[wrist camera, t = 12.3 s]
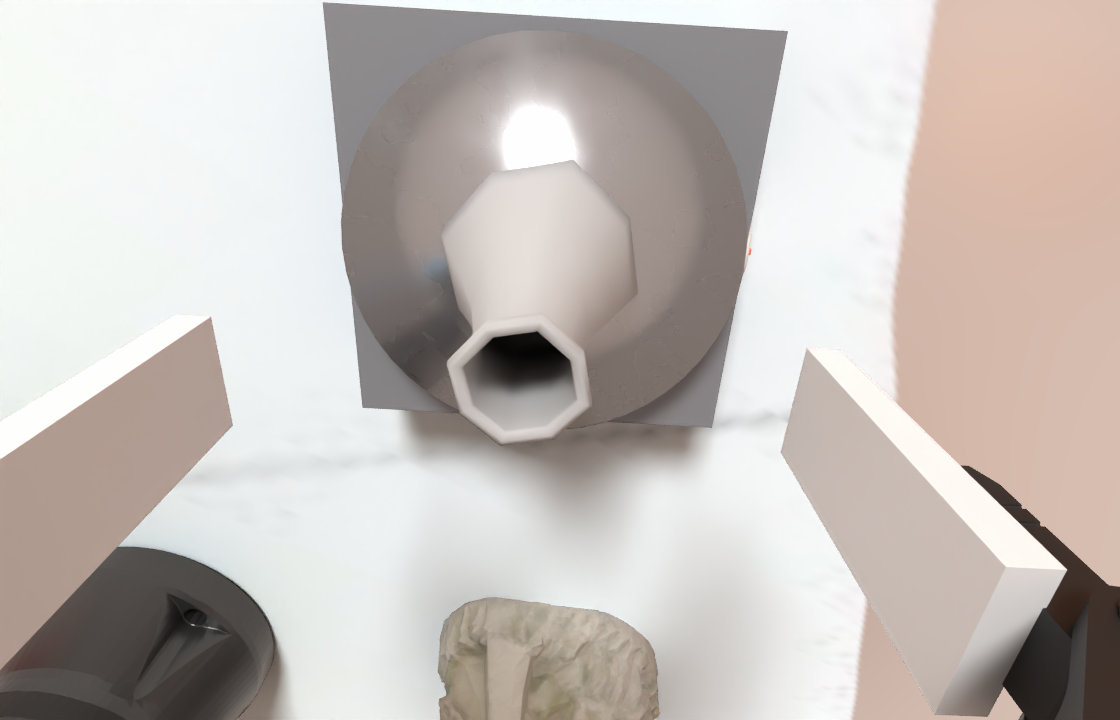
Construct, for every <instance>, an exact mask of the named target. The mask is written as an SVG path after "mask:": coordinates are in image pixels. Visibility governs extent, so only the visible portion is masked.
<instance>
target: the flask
mask: <svg viewBox="0 0 1120 720" xmlns="http://www.w3.org/2000/svg"><path fill="white" fill-rule="evenodd" d="M439 232H440V236H441V240H442V244H443V248H444V252H445V256H446V261H447V265H448V269H449V273H450V277H451V281H452V285H453V289H454V293H455V297H456V301H457V305H458V307H459V309H460V311H461V312H462V314H463V315H464V316H465V318H466V319H467V321H468V322H469V324H470V325H471V327H472V329H473V334H472V336H471V337H470V338H469V339H468V340H467V341H466V342H465V343H464V344H463V345H462V346H461V347H460V348H459V349H458V350H457V351H456V352H455V353H454V354H453V355H452V356H451V357H450V358H449V359H448V362H447V367H448V371H449V375H450V379H451V382H452V386H453V390H454V394H455V397H456V401H457V405H458V409H459V412H460V414H461V415H463V416H464V417H465V418H466V419H468V420H469V421H470V422H471V423H473V424H474V425H475V426H476V427H478V428H479V429H480V430H481V431H483V432H484V433H485V434H486V435H488V436H489V437H490V438H491V439H493V440H494V441H495V442H496V443H498V444H499V445H500V446H503V445H511V444H519V443H527V442H535V441H543V440H551V439H554V438H555V437H557V436H558V435H559V434H560V433H561V432H562V431H563V430H565V429H566V428H567V427H568V426H569V425H570V424H571V423H573V422H574V421H575V420H576V419H577V418H578V417H580V416H581V415H582V414H583V413H584V412H585V411H586V410H588V409H589V408H590V407H591V406H592V398H591V391H590V385H589V379H588V372H587V366H586V359H585V353H584V350H585V348H586V346H587V343H588V341H589V339H590V338H591V337H592V336H593V335H594V334H595V333H596V332H597V331H598V330H599V329H601V328H602V327H603V326H604V325H605V324H606V323H607V322H608V321H609V320H610V319H611V318H612V317H614V316H615V315H616V314H617V313H618V312H619V311H620V310H621V309H622V308H623V307H624V306H626V305H627V304H628V303H629V302H630V301H631V300H632V299H633V298H634V297H635V296H636V295H637V294H638V286H637V277H636V268H635V258H634V249H633V240H632V231H631V222H630V217H629V216H628V215H627V214H626V213H625V212H624V211H623V210H622V209H621V208H620V207H619V206H618V205H617V204H616V203H615V202H614V201H613V200H612V199H611V198H610V197H609V196H608V195H607V194H606V193H605V192H604V191H603V190H602V189H601V188H600V187H599V186H598V184H597V183H596V182H595V181H594V180H593V179H592V178H591V177H590V176H589V175H588V174H587V173H586V172H585V171H584V170H583V169H582V168H581V167H580V166H579V165H578V164H577V163H576V162H575V161H574V160H573V159H572V160H566V161H560V162H554V163H548V164H542V165H535V166H529V167H523V168H517V169H511V170H505V171H499V172H493V173H491V174H490V175H489V176H488V177H487V178H486V179H485V180H484V182H483V183H482V184H481V185H480V186H479V187H478V188H477V189H476V191H475V192H474V193H473V194H472V195H471V196H470V197H469V198H468V200H467V201H466V202H465V203H464V204H463V205H462V206H461V208H460V209H459V210H458V211H457V212H456V213H455V214H454V215H453V217H452V218H451V219H450V220H449V221H448V222H447V223H446V224H445V226H444V227H443V228H442V229H441V230H440V231H439Z"/></svg>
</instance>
